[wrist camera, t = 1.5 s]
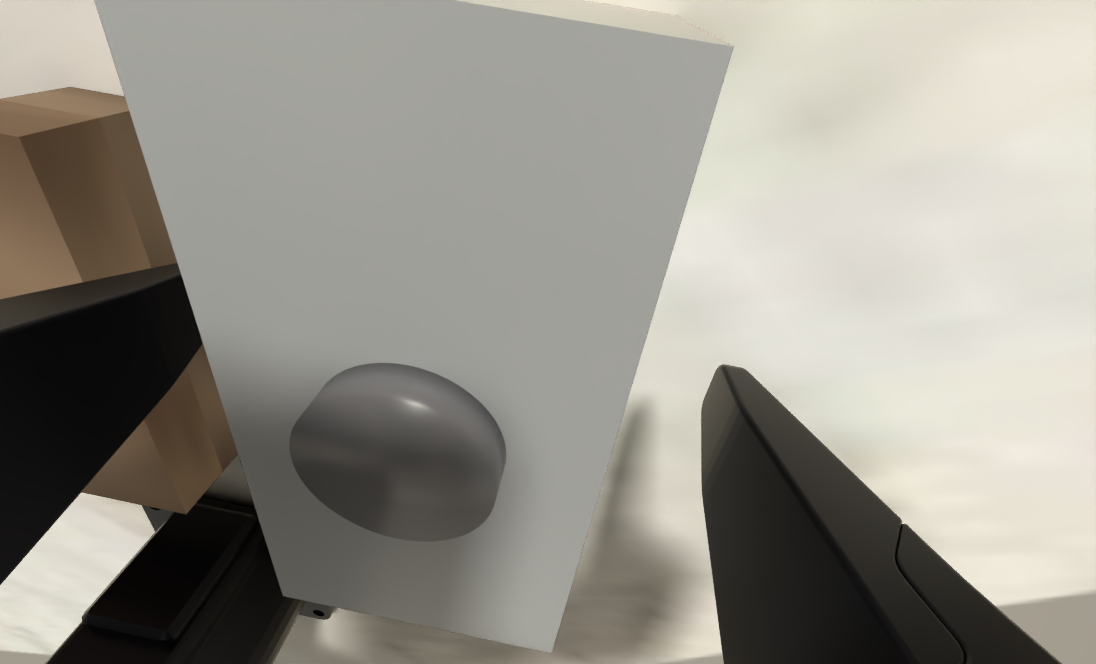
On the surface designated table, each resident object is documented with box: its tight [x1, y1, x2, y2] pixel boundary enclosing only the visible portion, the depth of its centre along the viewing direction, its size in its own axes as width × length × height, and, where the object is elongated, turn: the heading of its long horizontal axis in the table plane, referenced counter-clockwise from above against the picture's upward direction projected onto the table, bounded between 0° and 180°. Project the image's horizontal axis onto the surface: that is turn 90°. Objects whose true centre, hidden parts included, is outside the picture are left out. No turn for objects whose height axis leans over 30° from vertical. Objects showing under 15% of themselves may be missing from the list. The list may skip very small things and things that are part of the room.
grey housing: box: [94, 0, 734, 653], centre depth 9 cm, size 10×5×7 cm, turn 172°
